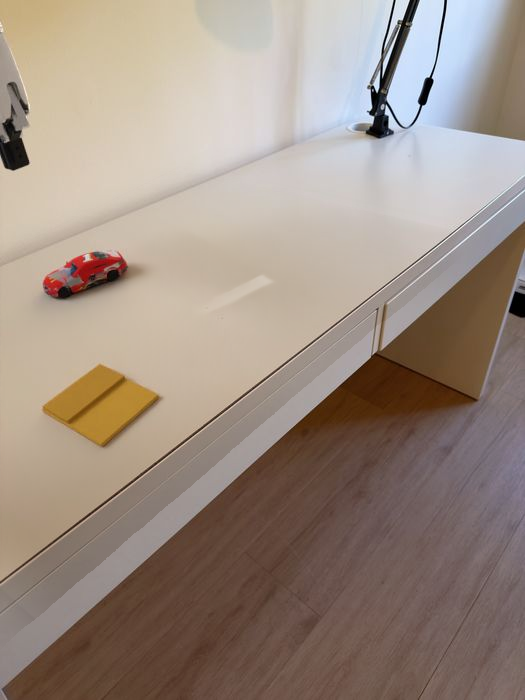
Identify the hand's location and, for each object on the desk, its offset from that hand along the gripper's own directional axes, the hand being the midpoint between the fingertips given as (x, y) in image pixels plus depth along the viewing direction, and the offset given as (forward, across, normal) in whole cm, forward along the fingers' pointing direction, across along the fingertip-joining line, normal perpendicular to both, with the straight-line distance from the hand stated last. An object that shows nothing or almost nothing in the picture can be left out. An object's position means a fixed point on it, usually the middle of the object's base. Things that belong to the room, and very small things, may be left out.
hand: (17, 166), depth 77 cm
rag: (+17, +32, -18) cm, 41 cm away
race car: (+17, +9, 0) cm, 19 cm away
